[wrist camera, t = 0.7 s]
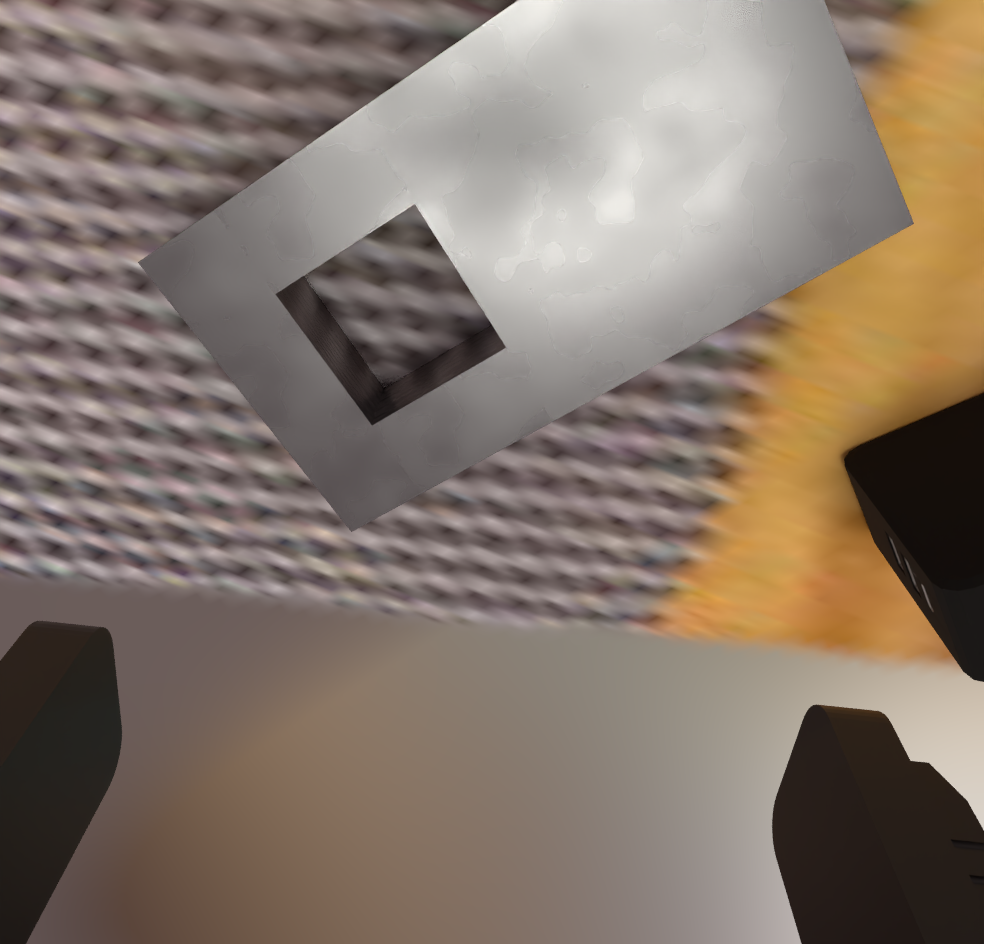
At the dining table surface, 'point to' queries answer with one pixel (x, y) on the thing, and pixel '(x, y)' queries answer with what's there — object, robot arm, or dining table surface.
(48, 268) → the dining table surface
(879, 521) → the electronic device
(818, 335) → the dining table surface
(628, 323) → the grey peg hole base
